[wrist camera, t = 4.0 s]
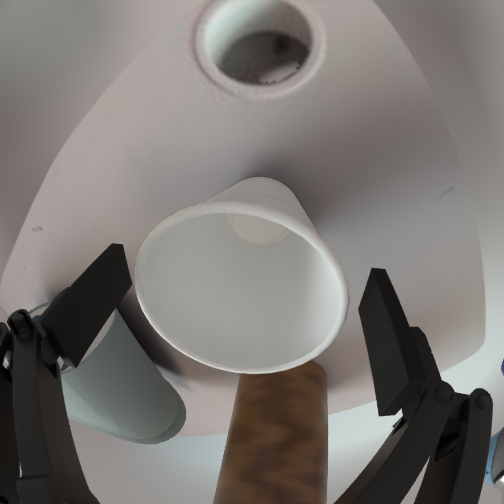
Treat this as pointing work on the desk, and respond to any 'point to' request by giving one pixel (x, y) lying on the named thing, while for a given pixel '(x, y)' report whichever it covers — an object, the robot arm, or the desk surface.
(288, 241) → the cup
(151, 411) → the sage-green arched shell
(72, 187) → the desk surface
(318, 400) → the plinth
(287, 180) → the desk surface
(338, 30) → the desk surface
